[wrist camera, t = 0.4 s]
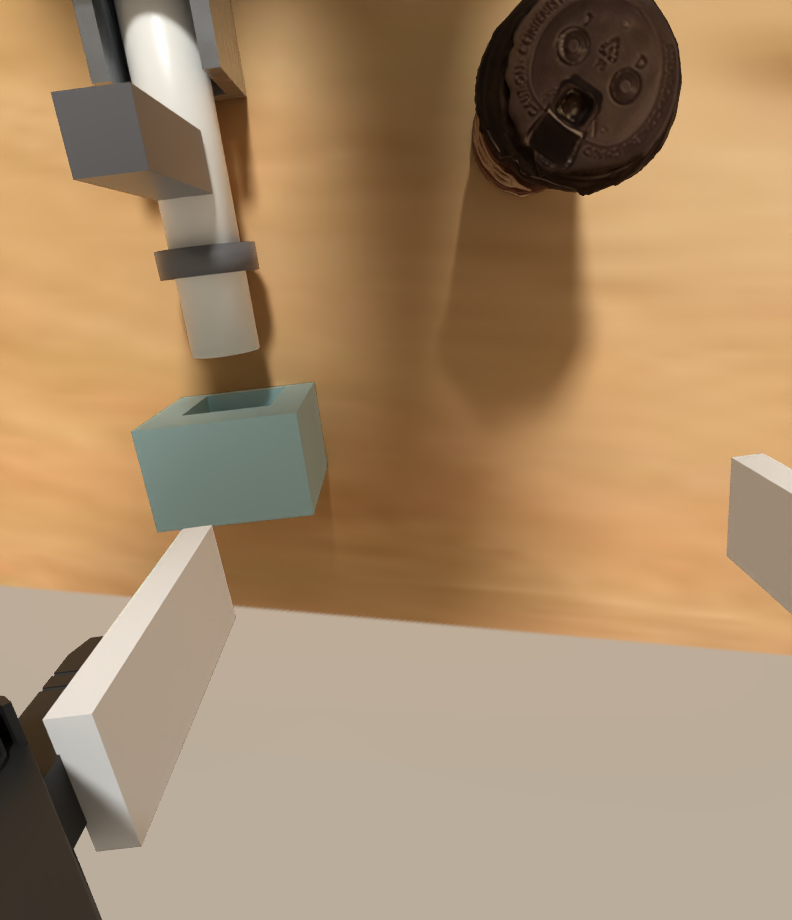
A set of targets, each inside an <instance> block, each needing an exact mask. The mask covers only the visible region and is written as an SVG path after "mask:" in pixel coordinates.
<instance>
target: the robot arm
mask: <svg viewBox="0 0 792 920" xmlns="http://www.w3.org/2000/svg"><path fill="white" fill-rule="evenodd" d="M727 557H729V558H730V559H731V560H732V561H733V562H734V563H735V564H736V565H737V566H739V567H740V568H741V569H742V570H743V571H744V572H745V573H746V574H747V575H749V576H750V577H751V578H752V579H753V580H754V581H755V582H756V583H757V584H759V585H760V586H761V587H762V588H763V589H764V590H765V591H766V592H767V593H769V594H770V595H771V596H772V597H773V598H774V599H775V600H776V601H777V602H779V603H780V604H781V605H782V606H783V607H784V608H785V609H786V610H787V611H789V612H790V613H791V614H792V469H791V468H789V467H787V466H785V465H783V464H782V463H780V462H778V461H776V460H774V459H772V458H770V457H769V456H767V455H765V454H763V453H761V454H753V455H746V456H738V457H731V477H730V496H729V516H728V536H727ZM235 618H236V616H235V612H234V608H233V604H232V600H231V596H230V592H229V589H228V585H227V581H226V577H225V573H224V569H223V565H222V562H221V558H220V554H219V550H218V546H217V542H216V538H215V535H214V531H213V527H212V525H208V526H200V527H193V528H185V529H182V530H181V532H180V533H179V534H178V536H177V537H176V538H175V540H174V541H173V542H172V544H171V545H170V547H169V548H168V549H167V551H166V552H165V553H164V555H163V556H162V557H161V559H160V560H159V562H158V563H157V564H156V566H155V567H154V568H153V570H152V571H151V572H150V574H149V575H148V577H147V578H146V579H145V581H144V582H143V583H142V585H141V586H140V587H139V589H138V590H137V592H136V593H135V594H134V596H133V597H132V598H131V600H130V601H129V602H128V604H127V606H126V607H125V608H124V609H123V611H122V612H121V613H120V615H119V616H118V618H117V619H116V620H115V622H114V623H113V624H112V626H111V627H110V628H109V630H108V631H107V633H106V634H105V635H104V636H101V637H93V638H90V639H88V640H87V641H86V642H85V643H83V644H82V645H81V646H79V647H78V648H77V649H75V650H74V651H73V652H72V653H70V654H69V655H68V656H67V657H66V659H65V660H64V661H63V663H62V664H61V665H60V666H59V668H58V669H57V670H56V671H55V673H54V674H55V675H54V676H52V677H51V678H50V679H49V680H48V682H47V683H46V684H45V685H44V687H43V691H42V692H39V693H38V694H37V696H36V697H35V698H34V700H33V701H32V702H31V703H30V705H29V706H28V707H27V708H26V710H25V711H24V712H23V713H22V715H21V716H20V717H19V718H17V715H16V713H15V710H14V708H13V706H12V703H11V702H10V701H9V700H8V699H7V698H6V697H5V696H0V920H102V919H101V916H100V914H99V911H98V908H97V906H96V903H95V901H94V899H93V896H92V893H91V891H90V888H89V886H88V883H87V881H86V878H85V876H84V874H83V871H82V868H81V866H80V863H79V861H78V859H77V856H76V854H75V852H74V847H75V845H76V843H77V841H78V839H79V837H80V835H81V834H82V832H83V830H84V828H85V826H86V827H87V830H88V832H89V835H90V837H91V840H92V842H93V845H94V847H95V850H96V851H105V850H114V849H123V848H132V847H141V846H142V844H143V841H144V839H145V836H146V834H147V831H148V829H149V827H150V824H151V822H152V819H153V817H154V815H155V812H156V810H157V807H158V805H159V802H160V800H161V797H162V795H163V793H164V790H165V787H166V785H167V783H168V781H169V778H170V776H171V773H172V771H173V768H174V766H175V764H176V761H177V759H178V756H179V754H180V751H181V749H182V747H183V744H184V742H185V739H186V737H187V734H188V732H189V729H190V727H191V725H192V722H193V720H194V717H195V715H196V713H197V710H198V708H199V705H200V703H201V700H202V698H203V696H204V693H205V691H206V688H207V686H208V683H209V681H210V678H211V676H212V674H213V671H214V669H215V667H216V664H217V662H218V659H219V657H220V654H221V652H222V649H223V647H224V645H225V642H226V640H227V637H228V635H229V632H230V630H231V628H232V625H233V623H234V620H235Z"/></svg>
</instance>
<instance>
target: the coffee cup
mask: <svg viewBox="0 0 792 920" xmlns="http://www.w3.org/2000/svg"><path fill="white" fill-rule="evenodd" d="M681 84H682V75H681V63H680V56H679V48H678V43H677V41H676V38H675V37H674V34H673V32H672V29H671V27H670V25H669V23H668V22H667V20H666V18H665V16H664V15H663V13H662V12H661V10H660V9H659V7H658V6H657V4H656V3H655V1H654V0H522V1H521V2H520V3H519V4H518V5H517V6H516V8H515V9H514V10H513V11H512V12H511V13H510V15H509V16H508V17H507V18H506V19H505V20H504V21H503V22H502V23H501V24H500V25H499V26H498V27H497V28H496V30H495V31H494V33H493V35H492V38H491V40H490V42H489V43H488V46H487V48H486V50H485V52H484V54H483V56H482V59H481V63H480V66H479V68H478V71H477V76H476V85H475V104H476V108H475V110H476V113H475V117H474V121H473V130H472V149H473V154H474V157H475V160H476V162H477V163H478V166H479V167H480V169H481V171H482V172H483V173H484V175H485V176H486V178H488V179H489V180H490V181H491V182H492V183H493V184H495V185H496V186H497V187H498V188H499V189H500V190H502V191H506V192H509V193H512V194H514V195H517V196H519V197H525V196H528V195H530V194H533V193H537V192H542V191H543V190H545V189H546V188H547V189H556V190H562V191H566V192H578V193H579V194H580V195H582V196H584V195H590V194H593V193H594V192H598V191H600V190H602V189H605V188H608V187H610V186H612V185H614V186H616V185H618V184H620V183H621V182H623V181H624V180H626V179H629V178H631V177H632V176H634V175H635V174H637V173H638V172H639V171H641V170H642V169H643V167H645V166H646V165H647V164H648V163H649V162H650V161H651V160H652V159H653V158H654V157H655V155H656V154H657V153H658V152H659V151H660V150H661V148H662V146H663V144H664V143H665V141H666V139H667V137H668V134H669V131H670V129H671V127H672V125H673V122H674V120H675V117H676V113H677V107H678V101H679V96H680V90H681Z"/></svg>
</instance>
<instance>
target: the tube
mask: <svg viewBox="0 0 792 920" xmlns="http://www.w3.org/2000/svg"><path fill="white" fill-rule="evenodd" d="M114 5H115V9H116V14H117V18H118V23H119V27H120V32H121V36H122V41H123V45H124V50H125V54H126V59H127V63H128V68H129V73H130V77H131V82H132V83H131V82H125V83H117V84H110V85H102V86H94V87H86V88H78V89H71V90H63V91H55V92H51V95H52V99H53V103H54V106H55V110H56V114H57V118H58V122H59V126H60V130H61V134H62V137H63V141H64V145H65V149H66V153H67V157H68V161H69V164H70V168H71V172H72V176H73V180H77V181H81V182H85V183H89V184H93V185H97V186H101V187H105V188H109V189H113V190H117V191H121V192H125V193H129V194H133V195H136V196H140V197H144V198H148V199H152V200H156V201H158V204H159V208H160V213H161V218H162V222H163V227H164V231H165V236H166V240H167V245H168V249H169V250H163V251H158V252H155V253H154V255H155V259H156V264H157V268H158V273H159V277H160V281H164V280H174V279H175V281H176V286H177V290H178V295H179V299H180V304H181V308H182V313H183V317H184V322H185V326H186V331H187V335H188V340H189V344H190V349H191V354H192V358H194V359H206V358H217V357H225V356H232V355H237V354H242V353H247V352H251V351H254V350H257V349H259V348H260V345H259V340H258V334H257V329H256V324H255V318H254V313H253V307H252V302H251V296H250V291H249V286H248V280H247V275H246V271H249V270H257V269H259V264H258V258H257V252H256V247H255V242H240V237H239V231H238V226H237V221H236V215H235V210H234V204H233V199H232V193H231V188H230V183H229V177H228V172H227V166H226V161H225V155H224V150H223V145H222V139H221V134H220V128H219V123H218V117H217V112H216V107H215V101H214V96H213V90H212V85H211V79H210V77H209V76H208V75H207V74H206V73H205V72H204V71H203V70H202V65H201V60H200V54H199V49H198V44H197V38H196V33H195V28H194V22H193V17H192V12H191V6H190V1H189V0H114Z"/></svg>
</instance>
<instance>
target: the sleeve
mask: <svg viewBox="0 0 792 920" xmlns="http://www.w3.org/2000/svg"><path fill="white" fill-rule="evenodd" d="M72 1H73V5H74V9H75V14H76V18H77V22H78V26H79V30H80V35H81V39H82V43H83V47H84V51H85V56H86V60H87V64H88V68H89V72H90V76H91V81H92V84H94V85H96V86H102V85H110V84H117V83H125V82H131V77H130V73H129V68H128V63H127V59H126V54H125V50H124V45H123V41H122V36H121V32H120V27H119V23H118V18H117V14H116V9H115V5H114V0H72ZM189 1H190V6H191V12H192V17H193V22H194V28H195V33H196V38H197V44H198V49H199V54H200V60H201V65H202V70H203V71H204V72H205V73H206V74H207V75H208V76H209V77H210V79H211V85H212V90H213V96H214V101H219V100H227V99H235V98H243V97H247V96H246V91H245V85H244V79H243V73H242V67H241V61H240V55H239V49H238V43H237V37H236V31H235V26H234V20H233V14H232V8H231V2H230V0H189ZM131 83H132V82H131Z"/></svg>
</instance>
